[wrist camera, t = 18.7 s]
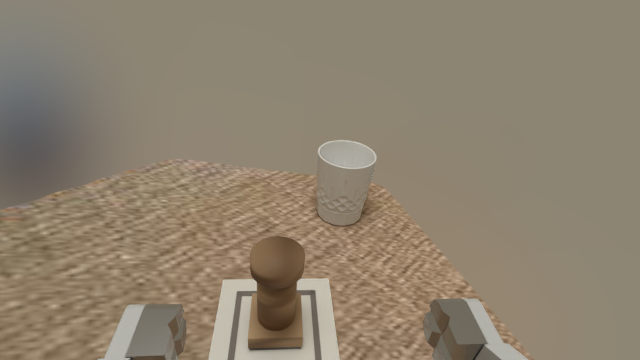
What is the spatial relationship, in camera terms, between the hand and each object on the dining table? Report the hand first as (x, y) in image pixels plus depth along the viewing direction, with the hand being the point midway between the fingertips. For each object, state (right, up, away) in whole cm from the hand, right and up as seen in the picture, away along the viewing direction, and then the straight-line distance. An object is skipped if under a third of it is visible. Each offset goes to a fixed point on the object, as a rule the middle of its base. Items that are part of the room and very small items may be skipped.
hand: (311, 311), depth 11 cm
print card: (-4, -11, +23) cm, 26 cm away
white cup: (+3, -1, +40) cm, 41 cm away
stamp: (-4, -10, +23) cm, 26 cm away
